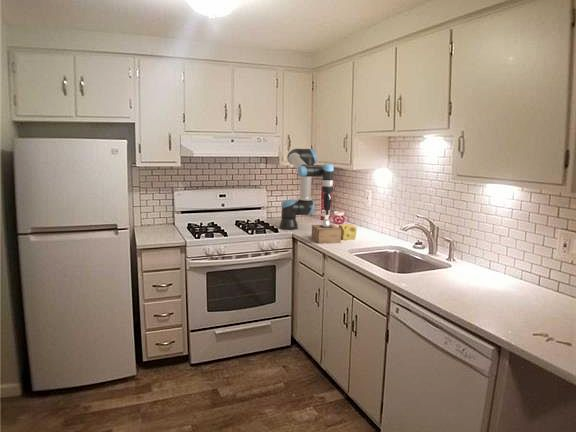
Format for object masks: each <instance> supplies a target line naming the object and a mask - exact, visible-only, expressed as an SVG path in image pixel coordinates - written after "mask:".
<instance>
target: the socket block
mask: <svg viewBox="0 0 576 432" xmlns="http://www.w3.org/2000/svg"><path fill="white" fill-rule="evenodd" d="M338 227H339V226H336V225H335V224H330V227H323V224H311V239H312V240H313V241H314V242H316V243H317V244H319V245H323V244H324V243H326V244H341V241H342V238H341V229H340V228H338Z"/></svg>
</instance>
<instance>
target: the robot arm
mask: <svg viewBox="0 0 576 432" xmlns="http://www.w3.org/2000/svg"><path fill="white" fill-rule="evenodd" d="M317 158H318V156H317V152H316V150H315V149H314V148H293V149H291V150H290V151H289V152H288V153H287V156H286V159H287V161H288V163H289V164H290V165H293V166H294V167H295V168H296V169H297V175H298V177H300V189H299V190H300V193H299V194H300V195H299V196H300V197H298V199H294V198H291V199H286V200H285V199H284V200H283V201H282V202H281V220H280V222H279V225H278V226H279V227H278V228H279V229H280V230H287V231H290V230H291V231H292V230H297V229H298V227H299V225H298V222H297V216H311V215H312V214H313V213H314V212H315V205H316V204H315V201H314V200H313V198H312V197H311V195H312V178H313V177H314V178H315V177H316V178H319V177H320V178H322V181H321V183H322V190H321V192H323V195H322V198H323V209H324V210H323V211H324V219H323V220H325V219H327V220H330V218H329V217H330V216H329V214H330V210H331V204H332V194H331V193H333V192H334V171H335V168H334V164H332V163H324V164H323V165H317V166H316V165H315V164H317V160H318V159H317Z"/></svg>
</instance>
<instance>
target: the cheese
mask: <svg viewBox="0 0 576 432" xmlns="http://www.w3.org/2000/svg"><path fill="white" fill-rule="evenodd" d="M337 227H338V228H340V229H341V241H351V240H352V241H353V240H354V241H355V240H356V237H357V232H358V231H357V229H358V228H357V226H356V225H353V224H346V223H345V224H338V226H337Z"/></svg>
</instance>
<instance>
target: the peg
mask: <svg viewBox="0 0 576 432" xmlns="http://www.w3.org/2000/svg"><path fill="white" fill-rule="evenodd" d="M330 221H331V220H330V219H322V225H323V227H330V223H331V222H330Z"/></svg>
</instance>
